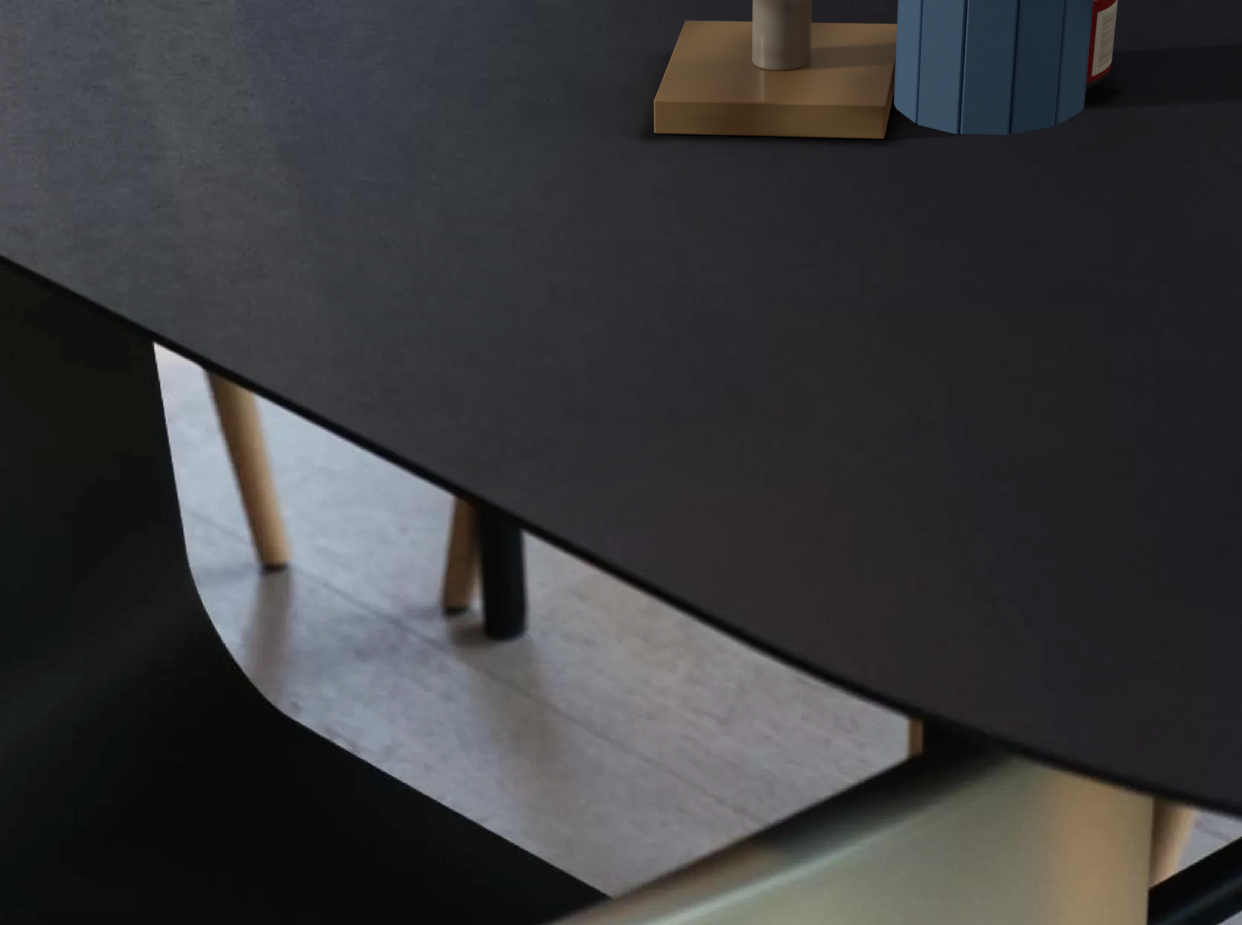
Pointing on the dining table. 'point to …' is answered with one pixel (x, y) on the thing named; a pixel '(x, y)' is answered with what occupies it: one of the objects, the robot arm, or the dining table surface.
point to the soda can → (1101, 41)
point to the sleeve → (991, 63)
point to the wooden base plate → (779, 76)
